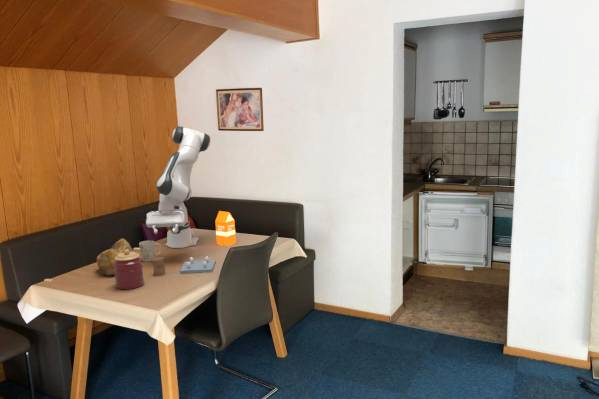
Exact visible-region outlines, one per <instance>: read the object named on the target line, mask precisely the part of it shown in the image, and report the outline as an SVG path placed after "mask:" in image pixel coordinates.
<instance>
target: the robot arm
mask: <svg viewBox="0 0 599 399" xmlns="http://www.w3.org/2000/svg"><path fill="white" fill-rule="evenodd" d="M171 136H172V137H171V138H172V141H173V143H175V145H179V147H178V148H177V149H178V150H177V151H176V152H173V153H172V155H171V156H170V158H169V159H168V161H167V163H166V165H165V168H164V169H163V171H162V173H161V175H160V177H159V179H158V180H157V182H156V184H155V185H156V186H155V187H156V191H157V192H158V193H159V196H158V197H159V203H158V210H153V211H149V212H148V213H147V212H146V219H145V225H146V227H147V228H152V229H153V233H154V234H155V235H158V229H157V228H166V227H167V228H168V231H167V233H166V234H167V235H166V237H167V238H166V240H167V242H166V243H165V244H164V245H165V246H167V247H169V248H172V249H182V248H187V247H191V246H196V244H197V243H198V240H199V237H196V236H195V231H194V230H193V229H192V228H191V227H190V224H191V220H188V219H189V217H188V209H187V207H186V205H185V203H184V202H186V201H188V200H189V199H190V198H191V197H192V188H191V174H192V171H193V167H194V164H196V162H197V161H198V159H199V154H200V153H201V152H205V151H207V150H208V148H209V147H210V145H211V137H210V135H209V134H207V133H204V132H202V131H199V130H196V129H192V128H188V127H184V126H180V125H179V126H177V127H175V128H174V129H173V131H172V135H171Z"/></svg>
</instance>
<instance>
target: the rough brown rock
mask: <svg viewBox="0 0 599 399" xmlns="http://www.w3.org/2000/svg"><path fill="white" fill-rule="evenodd" d="M126 249H128V250H129V251H130V252H134V251H133V249H132V246H131V245H130V243H129V241H127V240H126V239H125V238H123V237H122V238H120V239H119V240H118V241H115V242H114V244H113V245H112V246H111V247H110V248H109V249H106V250H104V251H102V252H101V253H99V254H98V255H97V256H96V264H97V267H98V270H100V273H101V274H102V275H103V276H115V272H114V269H115V265H114V264H113V262H114V261H115V257H116V256H117V255H118V254H120V253H123V252H124V250H126Z"/></svg>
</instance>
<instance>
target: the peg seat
mask: <svg viewBox="0 0 599 399" xmlns="http://www.w3.org/2000/svg"><path fill="white" fill-rule="evenodd" d="M216 263H217V261H216V259H210V258H209V256H208V255H207V256H205V260H204V259H203V260H194V258H193V257H191V256H190V257H189V260H186V261H184V263H183V265H182V266H181V268H180V270H179V274H181V275H183V274H185V275H186V274H200V273H201V274H202V273H203V272H205V273H213V271H214V268H215V265H216ZM203 274H204V273H203Z"/></svg>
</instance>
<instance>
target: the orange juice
mask: <svg viewBox="0 0 599 399" xmlns="http://www.w3.org/2000/svg"><path fill="white" fill-rule="evenodd" d="M214 223H215V236H216V245H217V244H218V245H219V246H223V245H224V246H225V247H230V246H232V245H235V244H237V241H236V239H237V238H236V224H235V223H236V221H235V219H234V218H233V216H232V214H231V213H230V212H229V211H223V210H218V213H217V216H216V218H215V222H214ZM229 245H230V246H229ZM224 246H223V247H224Z"/></svg>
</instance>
